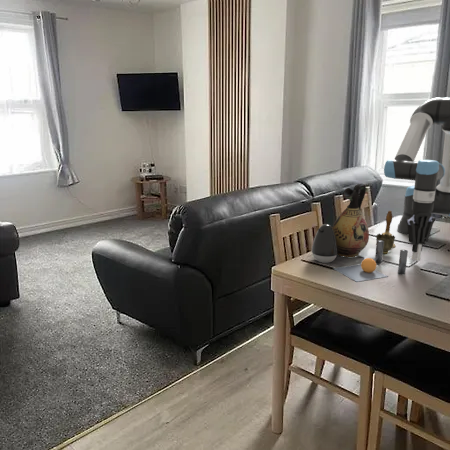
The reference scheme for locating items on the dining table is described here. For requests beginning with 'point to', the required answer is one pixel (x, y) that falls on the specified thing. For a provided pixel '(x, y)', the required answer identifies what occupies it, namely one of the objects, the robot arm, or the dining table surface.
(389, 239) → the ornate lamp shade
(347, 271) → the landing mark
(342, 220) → the ceramic jug
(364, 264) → the ball
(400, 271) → the gate post
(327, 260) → the grey smart speaker
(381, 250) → the gate post
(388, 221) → the hand bell
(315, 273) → the dining table surface
